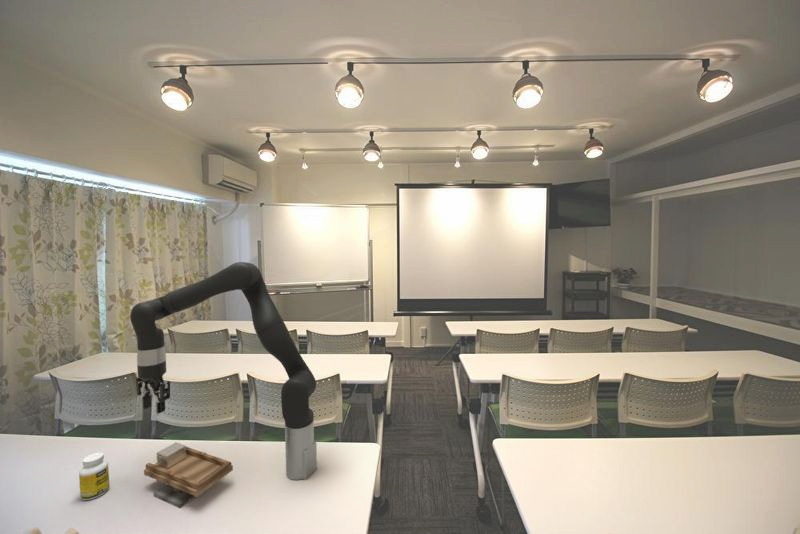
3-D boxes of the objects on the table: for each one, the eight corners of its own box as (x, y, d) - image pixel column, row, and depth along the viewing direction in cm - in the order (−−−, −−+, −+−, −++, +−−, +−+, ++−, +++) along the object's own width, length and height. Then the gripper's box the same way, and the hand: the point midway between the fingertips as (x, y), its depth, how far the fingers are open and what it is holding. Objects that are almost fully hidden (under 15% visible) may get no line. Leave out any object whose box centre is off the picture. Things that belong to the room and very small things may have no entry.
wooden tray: (235, 481, 105) (235, 458, 104) (194, 514, 92) (193, 488, 91) (185, 462, 114) (184, 441, 113) (141, 490, 101) (140, 466, 100)
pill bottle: (91, 503, 96) (89, 465, 95) (74, 499, 97) (72, 462, 96) (115, 487, 102) (113, 451, 101) (98, 484, 103) (96, 449, 103)
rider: (186, 457, 107) (185, 445, 107) (167, 468, 101) (167, 456, 101) (176, 453, 109) (175, 442, 109) (157, 464, 103) (156, 452, 103)
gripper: (178, 360, 107) (179, 408, 108) (150, 354, 112) (152, 401, 113) (153, 368, 100) (155, 420, 101) (125, 361, 105) (127, 411, 106)
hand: (154, 409), depth 107 cm, fingers open, 6 cm apart
